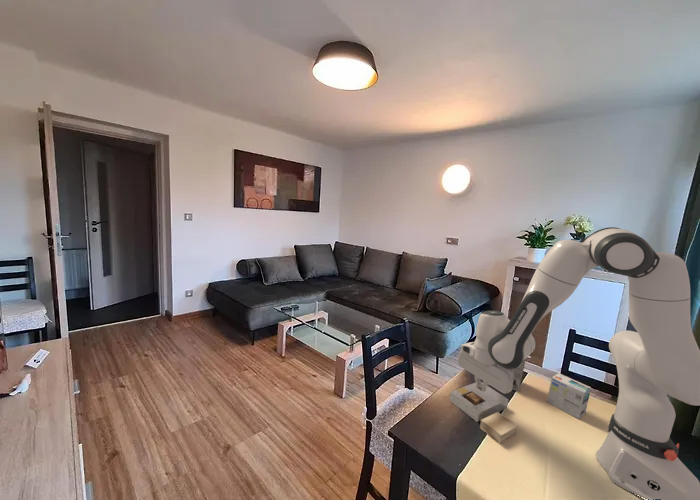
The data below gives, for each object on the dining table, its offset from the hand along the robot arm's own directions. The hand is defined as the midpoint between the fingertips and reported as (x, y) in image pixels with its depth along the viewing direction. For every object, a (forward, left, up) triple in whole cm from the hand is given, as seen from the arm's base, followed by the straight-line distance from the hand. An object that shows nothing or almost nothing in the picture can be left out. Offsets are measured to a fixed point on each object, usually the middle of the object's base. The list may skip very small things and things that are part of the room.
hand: (480, 389), depth 106 cm
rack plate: (0, 0, -6) cm, 6 cm away
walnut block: (0, +1, -4) cm, 4 cm away
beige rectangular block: (-11, +5, -6) cm, 14 cm away
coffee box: (+3, -26, -6) cm, 26 cm away
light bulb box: (-15, -31, -6) cm, 35 cm away
